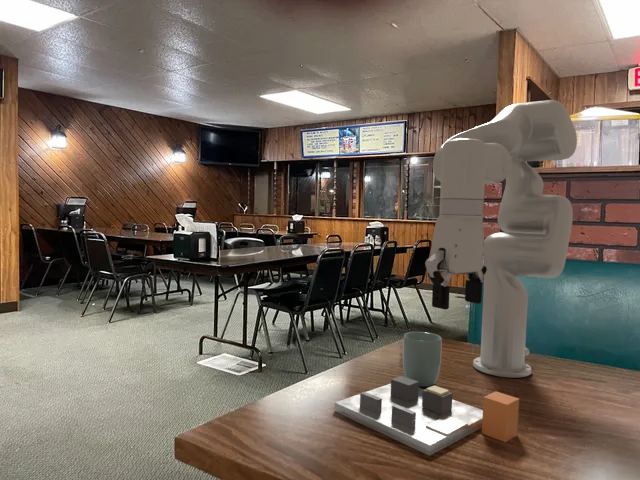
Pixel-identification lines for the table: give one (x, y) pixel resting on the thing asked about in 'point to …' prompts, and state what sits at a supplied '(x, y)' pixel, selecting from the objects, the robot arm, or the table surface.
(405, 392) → the toggle
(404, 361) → the cup
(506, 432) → the cap
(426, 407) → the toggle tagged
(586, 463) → the table surface
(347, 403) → the panel
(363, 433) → the table surface
